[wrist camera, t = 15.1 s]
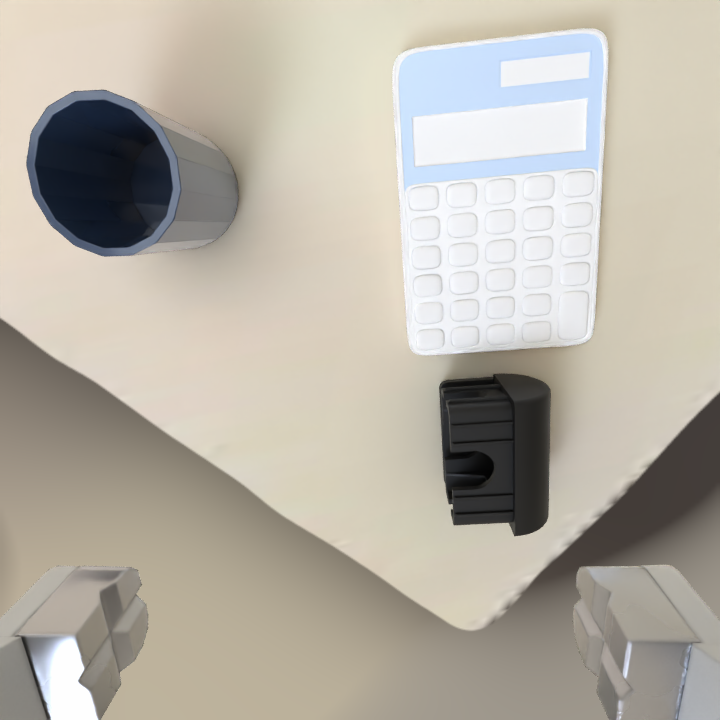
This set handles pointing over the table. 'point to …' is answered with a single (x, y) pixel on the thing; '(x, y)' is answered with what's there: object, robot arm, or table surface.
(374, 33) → the table surface
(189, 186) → the pen cup
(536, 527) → the end cap
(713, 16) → the table surface
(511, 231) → the calculator
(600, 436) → the table surface
